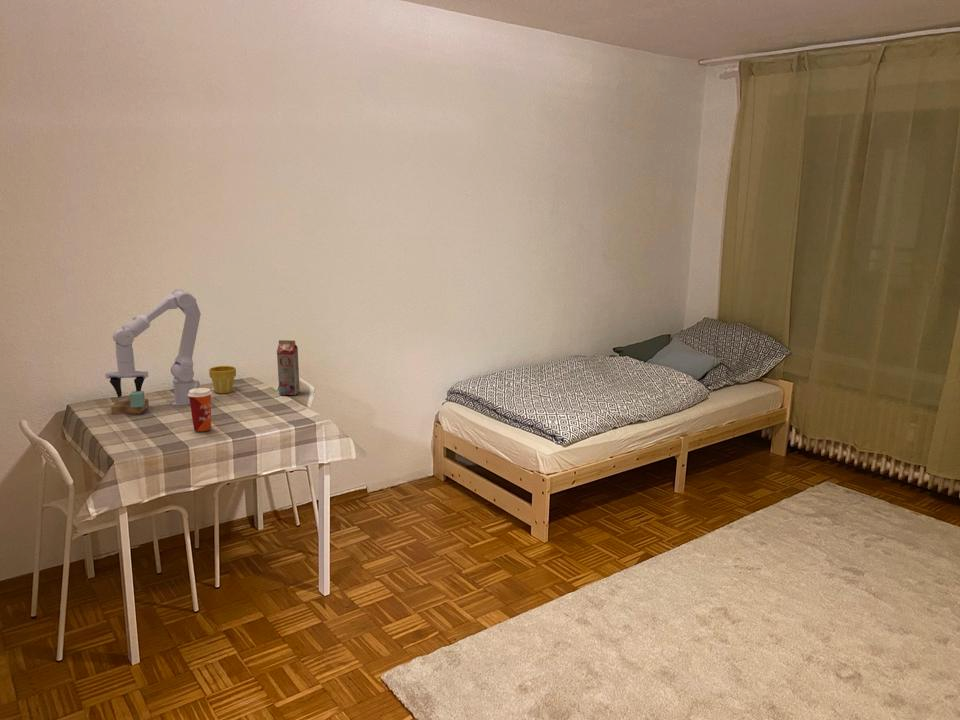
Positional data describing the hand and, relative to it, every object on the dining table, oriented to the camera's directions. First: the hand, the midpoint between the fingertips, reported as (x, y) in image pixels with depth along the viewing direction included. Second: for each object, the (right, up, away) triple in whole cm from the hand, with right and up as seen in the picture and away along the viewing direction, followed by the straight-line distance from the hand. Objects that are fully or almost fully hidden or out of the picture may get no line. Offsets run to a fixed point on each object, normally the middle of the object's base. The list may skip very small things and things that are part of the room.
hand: (129, 396), depth 272 cm
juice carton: (+53, 0, +27) cm, 60 cm away
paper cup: (+35, -11, -19) cm, 41 cm away
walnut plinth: (0, -5, +1) cm, 5 cm away
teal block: (+5, -3, -3) cm, 7 cm away
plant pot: (+26, 0, +28) cm, 38 cm away
